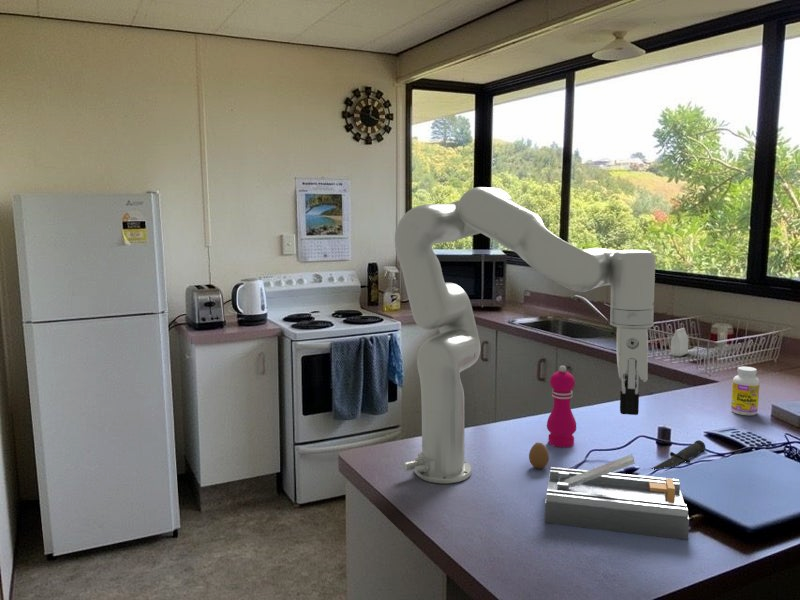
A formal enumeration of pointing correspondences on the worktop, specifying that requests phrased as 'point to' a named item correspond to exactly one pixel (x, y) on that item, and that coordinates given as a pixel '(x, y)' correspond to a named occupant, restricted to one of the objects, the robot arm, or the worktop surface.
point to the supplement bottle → (745, 392)
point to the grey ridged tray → (616, 504)
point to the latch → (665, 489)
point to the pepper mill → (561, 410)
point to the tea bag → (679, 343)
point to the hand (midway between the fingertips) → (629, 412)
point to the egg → (538, 456)
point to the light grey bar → (599, 471)
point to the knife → (682, 455)
